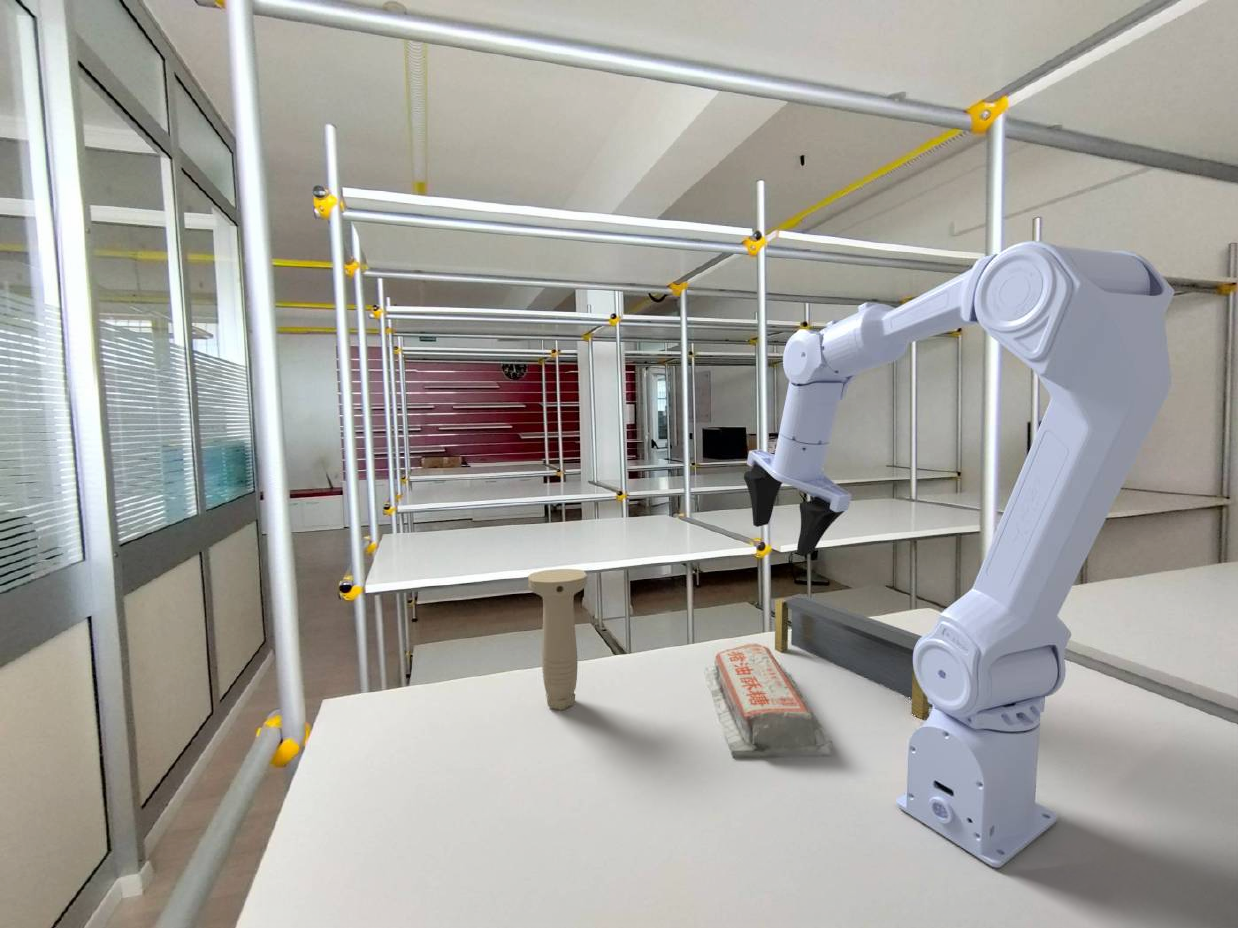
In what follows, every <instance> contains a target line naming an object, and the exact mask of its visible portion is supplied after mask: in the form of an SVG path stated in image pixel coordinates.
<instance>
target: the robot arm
mask: <svg viewBox="0 0 1238 928" xmlns="http://www.w3.org/2000/svg"><path fill="white" fill-rule="evenodd" d="M1174 296H1175V290H1174V288H1173V287H1172V286H1171V285H1170V284H1169V283H1168V281H1167V280H1166V279H1165V278H1164V277H1163V276H1162V274H1161V273H1160V272H1159V271H1158V269H1157V268H1156V267H1155V266H1154V264H1152V263H1151V262H1150V261H1149V260H1148V259H1147V258H1145V257H1144V256H1143V255H1140V254H1138V253H1136V252H1135V251H1133V252H1132V251H1128V250H1098V249H1091V248H1090V249H1089V248H1079V247H1073V246H1072V247H1071V246H1063V245H1056V244H1051V243H1049V242H1046V241H1041V240H1028V241H1023V242H1019V243H1016V244H1013V245H1011V246H1009V247H1007V248H1006V249H1004V250H1002V251H1001V252H1000V253H994V254H990V255H987V256H983V257H980V258H978V259H977V260H976V261H975V263H974V265H973V266H972V267H971V269H969V270H967V271H965V272H963V273H961V274H959V275H957V276H956V277H954V278H952V279H950V280H948V281H946V282H944V283H942V284H940V285H938V286H936V287H934V288H932V289H931V290H929V291H928V290H927V291H926V292H925V293H923V294H921V295H919V296H917V297H915V298H913V299H911V300H909V301H908V302H905V303H904V304H902V305H900V306H897V307H896V308H895V307H893V306H891V305H889V304H885V303H879V302H870V301H869V302H868V301H866V302H865V303H862V304H860V305H858V307H857V309H858V310H857V311H858V312H857V313H854V314H852V315H850V316H848V317H845V318H844V319H842V320H831V321H829V322H827V324H826V327H824V328H823V329H821V330H820V331H813V330H812V329H811V330H810V329H803V328H801V329H798V330H797V331H796V332H795V333H793V334H792V335H791V337H789V338H788V340H787V341H786V344H785V347H784V351H783V355H782V367H783V371H784V374H785V376H786V378H787V379H788V380H789V382H788V386H787V392H786V397H785V401H784V407H783V412H782V415H781V422H780V425H779V430H778V431H779V432H778V437H777V442H776V448H775V451H774V454H773V453H770V452H768V451H765V450H763V449H758V448H757V449H753V450H749V451H748V455H747V460H746V465H748V466H749V467H751V470H748V471H745V472H743V473H744V474H743V479H744V482H745V484H746V487H747V490H748V494H749V496H750V502H751V503H750V504H751V510H752V523H753V526H755V527H756V528H757V527H762V526H766V525H769V523H770V521H771V518H772V514H773V511H774V505H775V502H776V499H777V495H778V493H779V491H780V488H781V486H782V484H785V485H788V486H792V487H794V488H795V489H797V490H799V491H801V492H803V493H805V494H806V495H809V496H810V497H812V498H813V500H809V501H805V502H801V503H799V511H800V530H799V531H800V532H799V537H798V540H797V547H796V553H797V555H799V556H801V557H804V556H807V555H811V554H813V553H814V551H815V550H816V547H817V546H818V544H819V542H820V540H821V539H822V538H823V535H824V534H825V533H826V531H827V530H828V529H829V527H830V526H831V525H832V524H833V523H834V522H835V521H836V520H837V519H838V518H839V517H840V516H841V515H842V514H843V513H845V511H846V510H849V508H850V503H851V500H852V499H851V498H852V496H853V494H852V493H850V492H848V491H847V490H845V489H843V488H842V487H841V486H840V485H838V484H837V483H835V482H834V481H833V480H831V478H829V477H828V476H827V475H825V468H824V467H825V463H826V459H827V455H828V451H829V446H830V442H831V439H832V438H831V437H832V432H833V428H834V424H835V420H836V417H837V412H838V409H839V403H840V401H842V400H843V399H844V398H845V397H846V394H847V390H848V388H849V386H850V384H851V383H852V382H853V381H854V380H855V378H857V376H858V374H861V373H864V372H867V371H870V370H873V369H875V368H879V367H883V366H885V365H889V364H890V363H895V362H897V361H899V360H900V359H901V358H902V357H903V356H904V355H905V353H906V352H907V349H908V348H909V345H910V343H915V342H917V341H920V340H925V339H927V338H931V337H934V336H937V335H941V334H944V333H948V332H950V331H955V330H957V329H958V330H959V329H961V328H964V327H968V326H972V325H974V324H975V325H976V324H980V326H981V327H982V329H983V330H984V331H985V332H986V333H987V335H989V336H990V337H991V338H993V339H994V340H995V341H997V342H998V343H999V344H1000V345H1001V346H1002V347H1004V348H1005V349H1006V350H1008V351H1009V352H1010V353H1012V354H1013V356H1015V357H1017V358H1018V359H1019V360H1020V361H1021V362H1023V363H1024V364H1025V365H1026V366H1028V367H1029V368H1031V370H1032V371H1033V372H1034V373H1035V375H1036V376H1037V377H1038V379H1039V380H1040V382H1041V383H1042V385H1043V386H1044V388H1045V389H1046V391H1047V392H1048V395H1049V397H1050V399H1049V403H1048V404H1047V405H1048V406H1047V407H1046V410H1045V413H1044V415H1043V418H1042V420H1041V422H1040V425H1039V427H1038V430H1037V432H1036V434H1035V436H1034V439H1033V441H1032V444H1031V447H1030V449H1029V451H1028V453H1027V455H1026V458H1025V461H1024V463H1023V466H1022V468H1021V471H1020V473H1019V475H1018V476H1017V477H1018V478H1017V480H1016V482H1015V485H1014V487H1013V490H1012V492H1011V494H1010V496H1009V499H1008V501H1007V503H1006V506H1005V509H1004V511H1003V513H1002V516H1001V518H1000V521H999V523H998V526H997V529H996V531H995V532H994V535H993V538H992V540H991V542H990V545H989V547H988V550H987V552H986V554H985V557H984V560H983V562H982V564H981V567H980V569H979V571H978V574H977V576H976V578H975V581H974V584H973V586H972V587H971V589H970V590H969V591H967V592H966V593H965V594H964V595H962V596H961V597H959V598H958V599H957V600H955V601H954V602H953V603H952V604H951V605H949V606H948V607H947V608H945V609H944V610H943V611H941V612H940V614H939V615H938V616H939V617H938V619H937V621H936V623H935V624H934V627H933V628H932V629H931V630H930V631H929V632H927V633H925V634H923V635H921V636H922V637H921V638H920V639H919V640H918V642H917V643H916V645H915V648H914V652H913V667H914V672H915V675H916V678H917V681H918V683H919V685H920V687H921V689H922V691H923V692H924V694H925V695H926V696H927V698H928V702H929V703H930V704H932V705H933V708H932V709H931V711H930V712H929V713H930V714H929V716H928V717H927V719H926V720H925V721H924V722H923V724H921V725H920V726H919V727H918V728H917V729H916V730H915V731H913V733H912V734H911V736H910V738H909V742H908V751H907V752H908V753H907V754H908V755H907V756H908V757H907V776H906V777H907V779H906V780H907V782H906V792H905V793H904V794H902V795H901V796H899V797H897V798H896V800H895V804H896V806H897V807H898V808H899V809H901V810H903V811H904V812H905V813H907V814H909V815H910V816H911V817H913V818H915V819H916V820H917V821H919V822H921V823H923V824H924V825H925V826H927V827H929V828H931V829H932V830H933V831H935V832H937V833H939V834H940V835H942V836H943V837H945V838H946V839H948V840H950V841H951V842H953V843H954V844H956V845H957V846H959V847H961V848H962V849H963V850H965V851H967V852H968V853H970V854H971V855H973V856H975V857H976V858H978V859H979V860H981V861H982V862H984V863H985V864H988V866H991V867H994V868H1001V867H1002V866H1004V864H1006V863H1007V862H1008V861H1010V860H1011V859H1012V858H1013V857H1015V856H1016V855H1017V854H1018V853H1020V852H1021V851H1022V850H1023V849H1025V848H1026V847H1027V846H1028V845H1030V843H1032V842H1033V841H1034V840H1036V839H1037V838H1038V837H1039V836H1040V835H1042V834H1043V833H1044V832H1045V831H1047V830H1048V829H1049V828H1051V826H1053V825H1054V824H1055V823H1056V822H1058V821H1057V820H1058V816H1057V814H1056V813H1055V812H1053V811H1052V810H1050V809H1048V808H1045V807H1044V806H1042V805H1040V804H1038V803H1036V794H1037V793H1036V792H1037V791H1036V790H1037V775H1038V758H1039V743H1040V729H1041V728H1040V727H1041V713H1044V712H1045V705H1046V703H1045V702H1046V697H1049V696H1052V695H1054V694H1056V693H1057V692H1058V691H1059V690H1060V689H1061V688H1062V686H1063V684H1064V682H1065V679H1066V671H1067V669H1066V659H1065V653H1066V647H1067V645H1068V643H1069V641H1070V639H1071V637H1072V632H1071V631H1070V629H1069V627H1068V626H1067V625H1066V624H1065V623H1064V622H1063V620H1061V618H1060V617H1058V615H1059V613H1060V611H1061V609H1062V607H1063V605H1064V604H1065V601H1066V599H1067V597H1068V596H1069V593H1070V591H1071V589H1072V587H1073V585H1074V583H1075V581H1076V579H1077V577H1078V575H1079V573H1080V571H1081V569H1082V567H1083V565H1084V563H1085V562H1086V559H1087V557H1088V555H1089V554H1090V551H1091V549H1092V547H1093V545H1094V543H1095V541H1096V539H1097V538H1098V535H1099V533H1100V531H1101V529H1102V527H1103V526H1104V523H1105V521H1106V519H1107V518H1108V515H1109V514H1110V511H1111V509H1112V507H1113V505H1114V503H1115V501H1116V499H1117V497H1118V495H1119V493H1120V491H1121V489H1122V487H1123V485H1124V483H1125V481H1126V479H1127V477H1128V475H1129V473H1130V472H1131V469H1132V467H1133V465H1134V462H1135V461H1136V459H1137V458H1138V455H1139V453H1140V451H1141V449H1142V447H1143V445H1144V443H1145V441H1146V439H1147V438H1148V435H1149V433H1150V431H1151V429H1152V427H1153V425H1154V423H1155V421H1156V419H1157V417H1158V415H1159V413H1160V411H1161V409H1162V408H1163V406H1164V403H1165V401H1166V400H1167V398H1168V395H1169V391H1170V387H1171V385H1172V384H1171V383H1172V376H1171V374H1172V373H1171V367H1170V366H1171V365H1170V358H1169V357H1170V355H1169V347H1168V345H1169V344H1168V338H1167V337H1168V335H1167V328H1166V317H1165V315H1166V312H1167V310H1168V309H1169V306H1170V304H1171V301H1172V299H1173V297H1174Z"/></svg>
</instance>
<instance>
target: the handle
mask: <svg viewBox="0 0 1238 928" xmlns="http://www.w3.org/2000/svg"><path fill="white" fill-rule="evenodd" d="M527 579H528V588H529V590H530V591H531V592H533V593H534V594H536V595H538V596H540V597H542V605H543V607H542V609H543V610H542V611H543V612H542V614H543V615H542V638H541V639H542V640H541V641H542V642H541V643H542V646H541V666H542V667H541V671H542V678H543V685H544V689H545V697H546V702H547V707H549V708H550V709H556V710H559V711H564V710H565V709H567V708H569V707H572V706H574V704H575V702H576V694H575V691H576V687H577V682H578V681H577V680H578V669H579V668H578V667H579V666H578V664H579V663H578V661H579V660H578V647H577V635H576V624H575V623H576V622H575V611H574V609H575V608H574V596H575V595H576V594H577V593H579V592H581V591H582V590H583V589H585V587H587V581H588V580H587V573H586V571H584V570H582V569H573V568H559V569H548V570H541V571H540V570H539V571H537V572H532V573H530V574H529V575H528V578H527Z"/></svg>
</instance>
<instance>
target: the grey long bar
mask: <svg viewBox="0 0 1238 928" xmlns="http://www.w3.org/2000/svg"><path fill="white" fill-rule="evenodd" d="M774 603H775V604H774V605H775V607H774V608H775V610H774V612H775V613H774V620H775V621H774V650H775V651H778V652H779V653H784V652H787V651H788V646H789V645H788V643H789V640H788V639H789V609H790V610H791V627H790V628H791V630H792V631H791V630H790V632H791V634H790V637H791V638H790V640H791V641H790V645H792V646H795V647H797V648H799V649H801V650H803V651H805V652H808V653H810V654H811V655H812V654H813V655H814V656H816V657H819V658H821V659H822V660H825V661H828V662H830V663H832V664H834V665H835V666H838V667H840V668H843V669H845V670H847V671H849V672H852V673H854V674H857V675H858V676H861V677H863V678H865V679H868V681H869V680H870V681H872V682H874V683H876V684H878V685H880V686H883V687H885V688H888V689H889V690H892V691H894V692H896V693H898V694H901V695H903V696H905V697H907V696H908V697H907V698H909V697H910V699H911V698H912V699H911V711H910V712H911V714H913V715H915V716H914V717H916V716H917V717H916V718H918V719H920V718H921V719H920V720H924V719H926V718H928V717H929V716H930V714H929V713H930V708H931V707H932V708H933V705H932V704H930V703H929V702H928V698H927V696H926V695H925V694H924V692H923V691H922V689H921V687H920V685H919V683H918V681H917V678H916V675H915V672H914V667H913V652H914V648H915V645H916V643H917V642H918V640H919V639H920V638H921V637H922V636H923V635H920V634H916V633H914V632H911V631H909V630H906V629H902V628H900V627H896V626H893V625H891V624H888V623H885V622H882V621H880V620H876V619H874V618H871V617H868V616H865V615H862V614H859V613H857V612H853V611H850V610H848V609H846V608H841V607H839V606H837V605H833V604H831V603H828V602H825V601H823V600H819V599H816V598H813V597H811V596H807V595H804V594H802V593H798V594H794V595H791V599H788V600H787V599H784V598H779V599H775V602H774ZM913 715H912V716H913Z"/></svg>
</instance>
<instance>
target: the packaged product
mask: <svg viewBox="0 0 1238 928" xmlns="http://www.w3.org/2000/svg"><path fill="white" fill-rule="evenodd" d="M776 659H777V658H775V657H774V655H773V654H772V652H771V650H770V648H769V647H768V646H766V645H765V646H764V645H760V644H758V643H754V642H753V643H746V644H745V645H740V646H737V647H733V648H730V649H729V648H728V649H726V650H723V651H719V652H718V653H717V654H716V655H715V659H714V661H713V662H714V665H712V666H711V667H706V666H702V667H703V673H704V678H705V681H706V684H707V686H708V689H709V691H710V694H711V697H712V701H713V704H714V707H715V711H716V716H717V718H718V721H719V723H720V725H721V728H722V731H723V732H722V733H723V736H724V738H725V740H726V743H727V746H728V749H729V751H730V755H731V757H732V758H787V757H790V758H792V757H793V758H795V757H797V758H801V757H831V756H832V747H833V741H831V740H830V739H829V735H828V734H827V733H826V732H825V730H824V728H823V726H822V725H821V724H820V722H819V720H818V719H817V717H816V716H815V715H814V712H813V711H812V710H811V708H810V706H809V705H808V703H807V702H806V701H805V699H804V697H803V695H802V693H801V692H800V690H799V689H798V687H797V686H796V685H795V683H794V681H793V679H792V678H791V676H790V674H789V672H787V670H786V668H785V667H784V666H783V663H782V662H779V661H777V660H776Z"/></svg>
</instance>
